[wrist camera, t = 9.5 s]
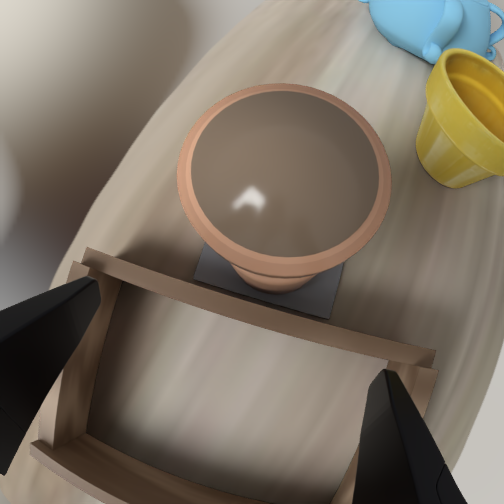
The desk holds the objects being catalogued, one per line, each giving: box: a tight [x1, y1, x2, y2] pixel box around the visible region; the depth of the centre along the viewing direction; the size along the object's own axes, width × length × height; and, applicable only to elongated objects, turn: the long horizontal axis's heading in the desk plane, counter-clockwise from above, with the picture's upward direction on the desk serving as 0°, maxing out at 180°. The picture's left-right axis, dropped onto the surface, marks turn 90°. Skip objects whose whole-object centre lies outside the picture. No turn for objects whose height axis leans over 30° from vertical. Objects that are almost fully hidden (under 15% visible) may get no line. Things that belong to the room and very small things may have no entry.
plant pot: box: [416, 48, 504, 188], centre depth 19 cm, size 10×10×10 cm
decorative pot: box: [359, 0, 504, 64], centre depth 21 cm, size 16×16×14 cm
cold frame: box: [30, 247, 439, 504], centre depth 17 cm, size 16×24×6 cm
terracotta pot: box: [177, 83, 392, 295], centre depth 16 cm, size 7×7×13 cm
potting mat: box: [193, 242, 344, 319], centre depth 22 cm, size 10×10×1 cm
